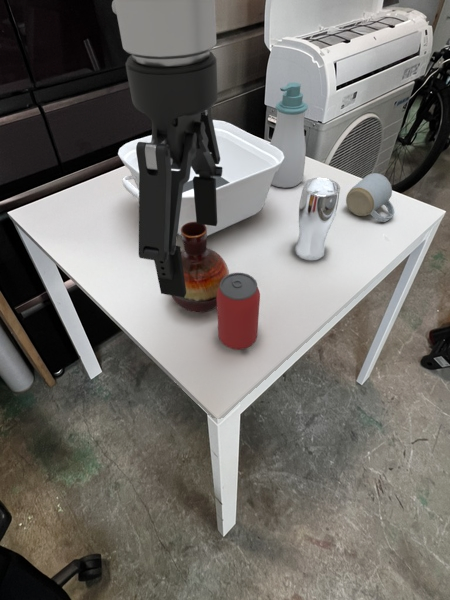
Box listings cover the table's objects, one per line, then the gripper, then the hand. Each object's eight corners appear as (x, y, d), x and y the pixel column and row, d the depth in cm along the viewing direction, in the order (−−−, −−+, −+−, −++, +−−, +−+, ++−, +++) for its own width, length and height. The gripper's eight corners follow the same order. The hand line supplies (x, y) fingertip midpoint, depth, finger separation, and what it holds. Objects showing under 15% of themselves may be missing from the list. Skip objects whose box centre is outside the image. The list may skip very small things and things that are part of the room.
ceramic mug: (340, 210, 88) (348, 181, 83) (358, 197, 92) (367, 167, 86) (381, 229, 83) (392, 199, 77) (398, 214, 87) (410, 184, 81)
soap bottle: (257, 179, 99) (262, 84, 83) (282, 167, 104) (291, 75, 87) (285, 193, 94) (296, 95, 78) (310, 180, 98) (325, 84, 82)
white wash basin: (225, 168, 104) (224, 113, 93) (297, 214, 88) (306, 153, 77) (112, 210, 90) (96, 151, 79) (173, 274, 74) (162, 210, 63)
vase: (207, 269, 75) (202, 201, 63) (242, 301, 68) (243, 232, 57) (159, 293, 70) (145, 225, 59) (191, 329, 64) (182, 261, 53)
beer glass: (286, 247, 79) (294, 182, 68) (312, 237, 81) (325, 173, 70) (305, 266, 75) (317, 200, 64) (333, 255, 77) (349, 190, 66)
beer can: (247, 316, 66) (249, 265, 57) (263, 344, 62) (268, 293, 53) (212, 327, 64) (209, 276, 56) (226, 356, 60) (225, 306, 51)
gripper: (176, 20, 39) (192, 198, 55) (43, 103, 23) (120, 325, 38) (246, 22, 38) (242, 204, 53) (158, 112, 21) (190, 339, 37)
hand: (192, 255), depth 46 cm, fingers open, 13 cm apart
